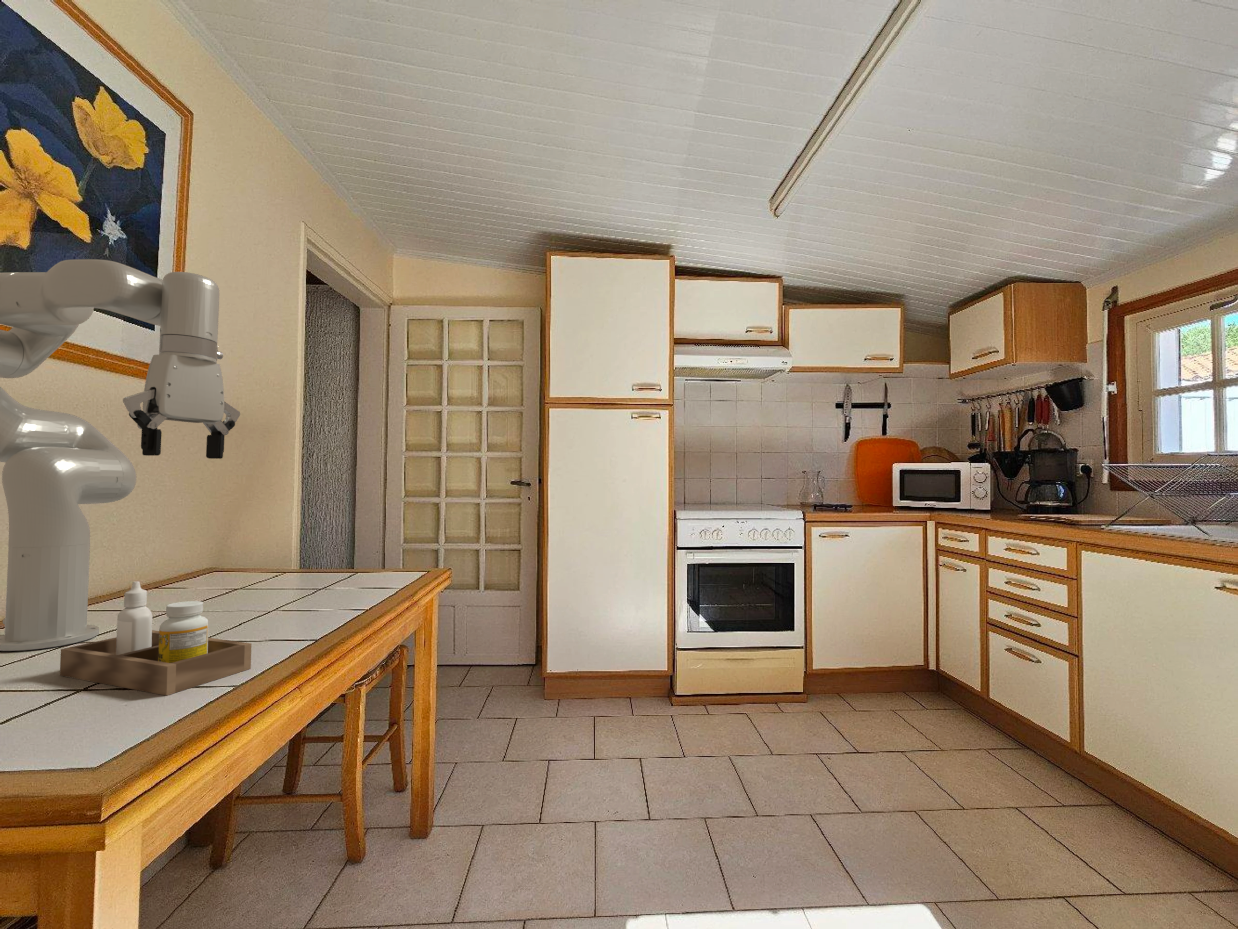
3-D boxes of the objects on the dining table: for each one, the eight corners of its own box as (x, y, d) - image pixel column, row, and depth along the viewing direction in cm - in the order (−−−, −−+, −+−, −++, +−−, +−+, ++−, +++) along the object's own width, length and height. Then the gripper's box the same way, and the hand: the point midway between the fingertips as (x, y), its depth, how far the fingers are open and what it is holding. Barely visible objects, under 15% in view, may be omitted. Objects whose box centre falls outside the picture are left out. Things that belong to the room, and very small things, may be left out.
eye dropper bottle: (106, 676, 77) (110, 586, 78) (118, 664, 82) (121, 580, 82) (148, 671, 79) (151, 583, 80) (157, 660, 84) (160, 577, 85)
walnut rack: (59, 675, 77) (60, 649, 77) (149, 653, 88) (150, 629, 88) (166, 695, 70) (167, 666, 70) (250, 668, 81) (251, 643, 81)
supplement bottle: (203, 678, 77) (205, 605, 77) (152, 684, 74) (155, 609, 74) (210, 666, 81) (211, 598, 82) (162, 672, 79) (164, 602, 79)
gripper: (224, 363, 103) (221, 459, 102) (111, 340, 87) (106, 454, 86) (255, 361, 100) (251, 459, 100) (144, 337, 84) (139, 454, 83)
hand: (184, 456), depth 93 cm, fingers open, 9 cm apart
